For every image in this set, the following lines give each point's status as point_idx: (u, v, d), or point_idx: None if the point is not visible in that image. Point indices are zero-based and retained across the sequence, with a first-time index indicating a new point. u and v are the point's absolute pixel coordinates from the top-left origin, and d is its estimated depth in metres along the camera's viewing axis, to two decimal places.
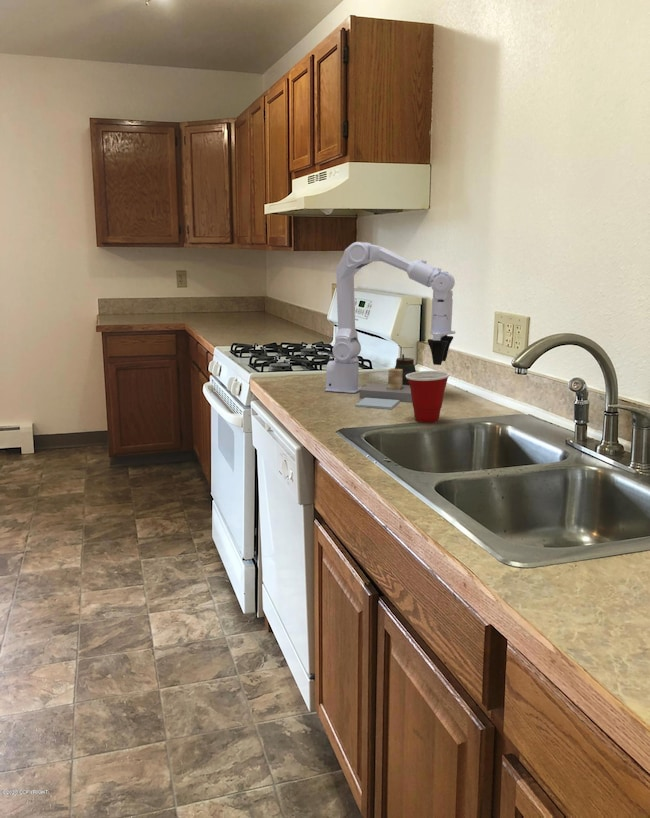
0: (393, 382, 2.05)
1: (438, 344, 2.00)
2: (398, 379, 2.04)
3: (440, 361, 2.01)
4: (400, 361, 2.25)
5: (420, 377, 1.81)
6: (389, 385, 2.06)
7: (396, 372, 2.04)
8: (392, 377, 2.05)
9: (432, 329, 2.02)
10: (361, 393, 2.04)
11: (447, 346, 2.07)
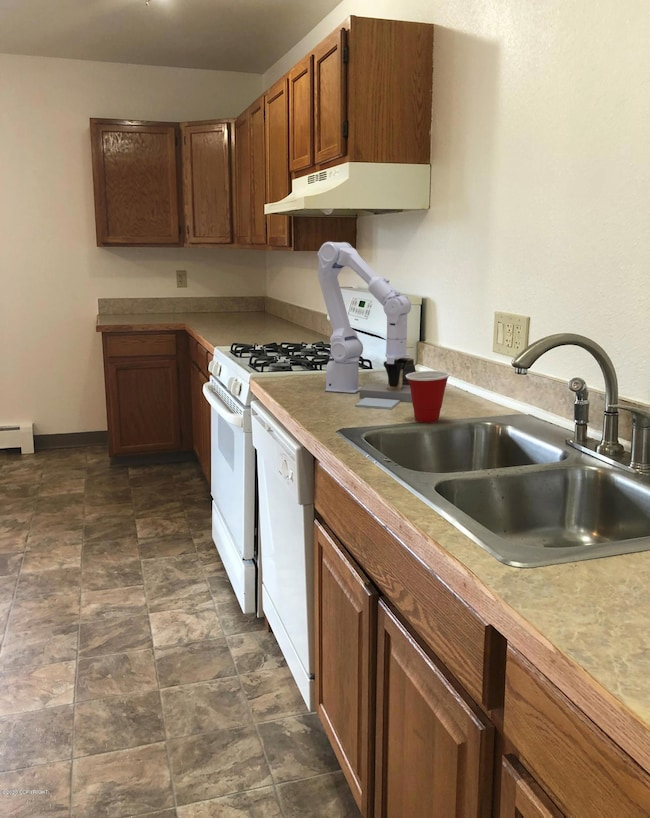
0: None
1: (394, 366, 2.03)
2: None
3: (396, 383, 2.04)
4: None
5: (420, 377, 1.81)
6: (389, 385, 2.06)
7: None
8: None
9: (387, 352, 2.04)
10: (361, 393, 2.04)
11: None
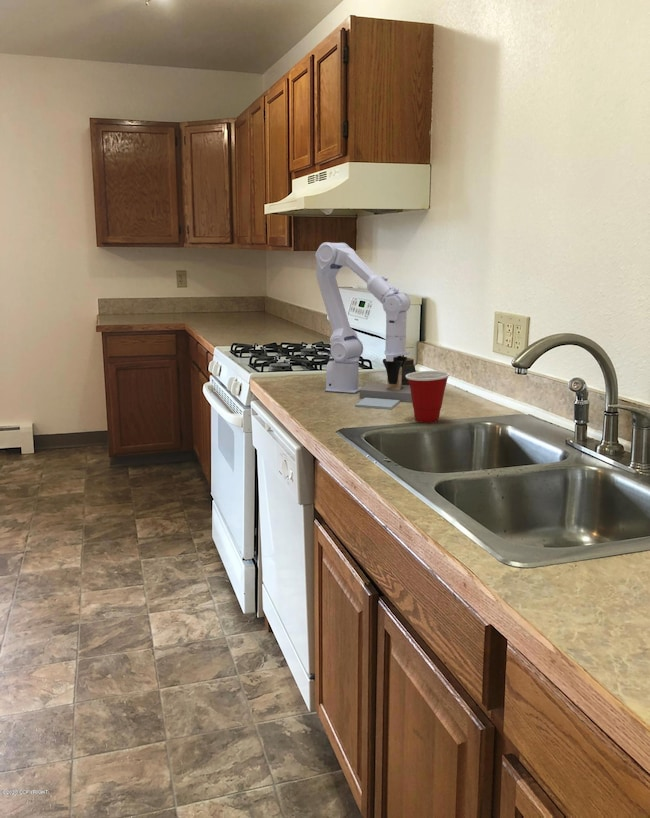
0: None
1: (393, 364, 2.03)
2: None
3: (395, 380, 2.04)
4: None
5: (420, 377, 1.81)
6: (388, 382, 2.05)
7: None
8: None
9: (386, 350, 2.04)
10: (361, 393, 2.04)
11: None
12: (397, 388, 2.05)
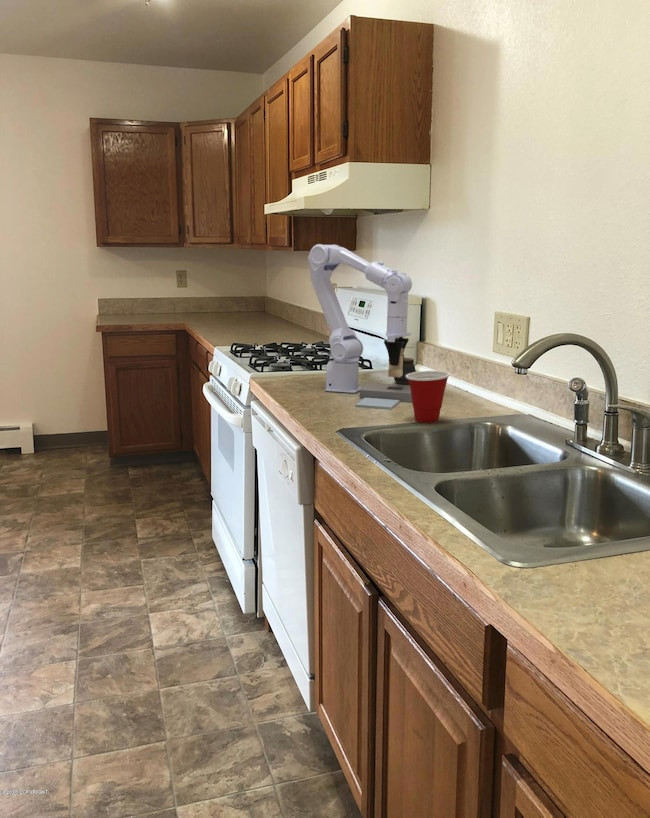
0: None
1: (394, 345, 2.02)
2: (399, 358, 2.03)
3: (397, 362, 2.03)
4: None
5: (420, 377, 1.81)
6: None
7: None
8: None
9: (387, 331, 2.02)
10: (361, 393, 2.04)
11: None
12: (398, 369, 2.04)
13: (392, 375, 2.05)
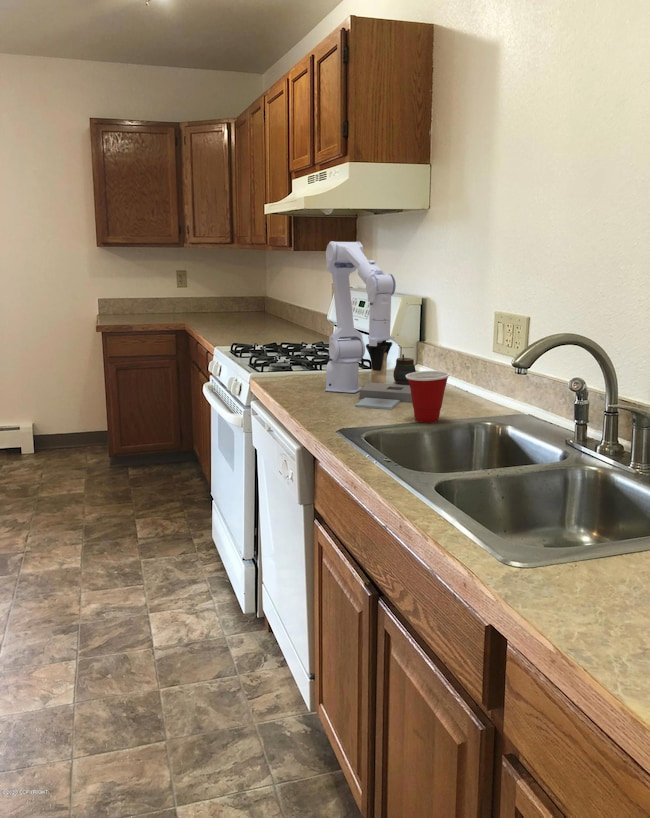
0: None
1: (377, 349, 1.91)
2: (382, 363, 1.92)
3: (379, 367, 1.92)
4: (400, 361, 2.25)
5: (420, 377, 1.81)
6: (372, 369, 1.94)
7: None
8: None
9: (370, 334, 1.92)
10: (361, 393, 2.04)
11: None
12: (382, 375, 1.93)
13: (375, 381, 1.94)
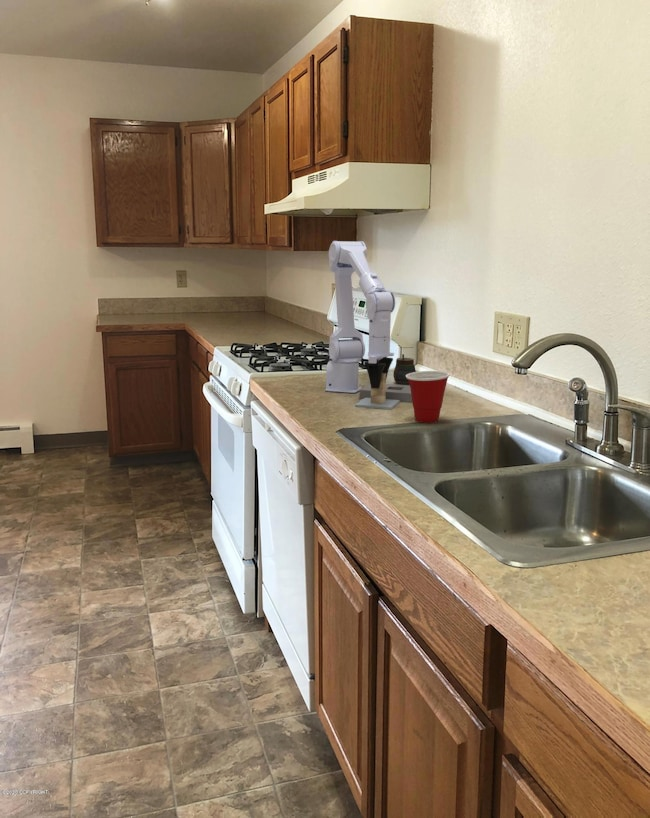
0: None
1: (375, 367, 1.91)
2: (381, 384, 1.94)
3: (378, 384, 1.92)
4: (400, 361, 2.25)
5: (420, 377, 1.81)
6: (372, 390, 1.95)
7: None
8: None
9: (369, 351, 1.93)
10: (361, 393, 2.04)
11: (386, 368, 1.97)
12: (381, 396, 1.94)
13: (374, 401, 1.95)
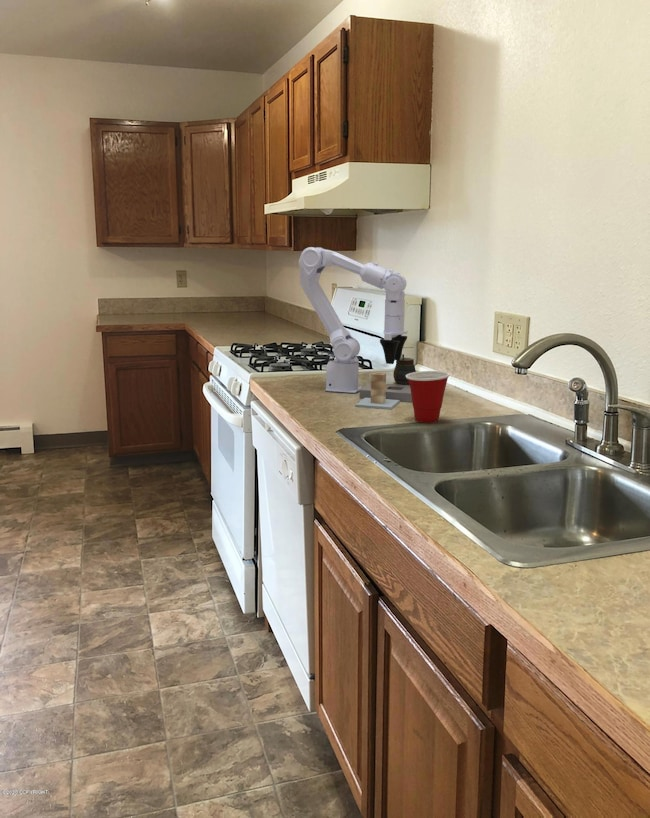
0: (376, 386, 1.94)
1: (390, 344, 2.05)
2: (381, 384, 1.94)
3: (392, 360, 2.06)
4: (400, 361, 2.25)
5: (420, 377, 1.81)
6: (372, 390, 1.95)
7: (379, 376, 1.93)
8: (375, 382, 1.94)
9: (385, 329, 2.08)
10: (361, 393, 2.04)
11: (401, 346, 2.13)
12: (381, 396, 1.94)
13: (374, 401, 1.95)
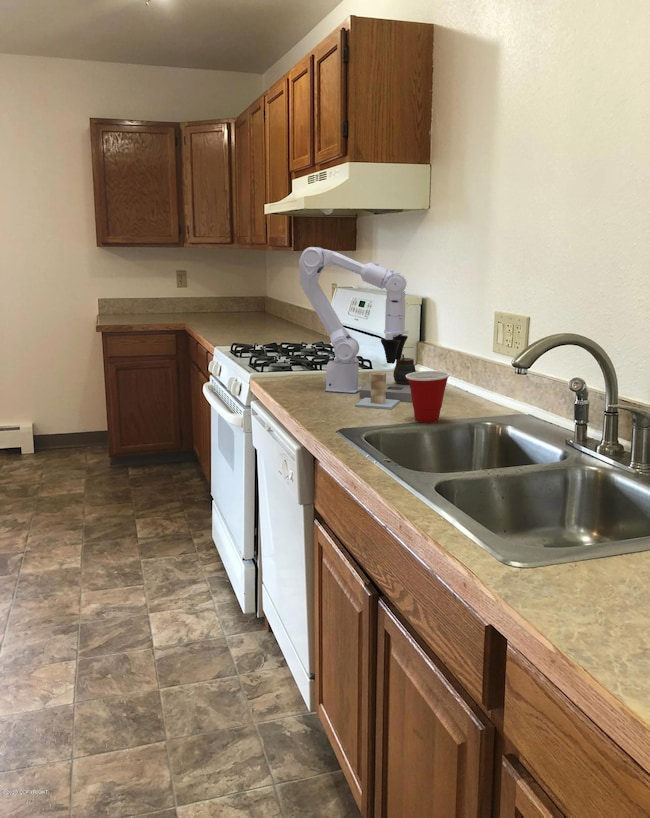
0: (376, 386, 1.94)
1: (391, 343, 2.06)
2: (381, 384, 1.94)
3: (393, 360, 2.07)
4: (400, 361, 2.25)
5: (420, 377, 1.81)
6: (372, 390, 1.95)
7: (379, 376, 1.93)
8: (375, 382, 1.94)
9: (386, 329, 2.08)
10: (361, 393, 2.04)
11: (401, 345, 2.14)
12: (381, 396, 1.94)
13: (374, 401, 1.95)
